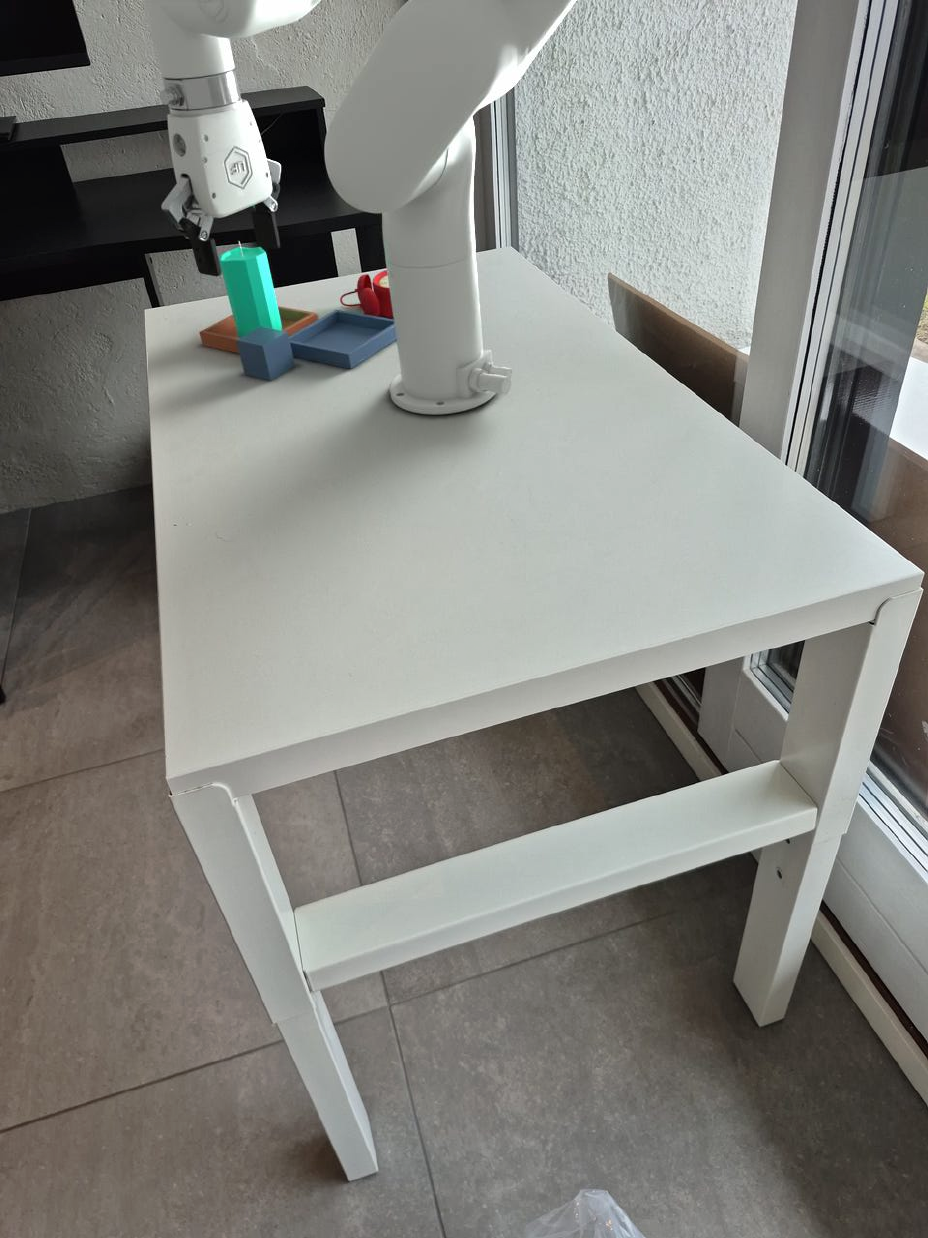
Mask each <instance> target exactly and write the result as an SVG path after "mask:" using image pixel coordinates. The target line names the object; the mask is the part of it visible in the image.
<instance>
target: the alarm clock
mask: <svg viewBox="0 0 928 1238" xmlns="http://www.w3.org/2000/svg"><path fill="white" fill-rule="evenodd" d="M355 293H357V298H358V301H359V303H353V304H348V303H344V302H343V298H344V297H346V296H349V295H352V294H355ZM339 301H340V303H341V305H342V306H345V307H352V308H353V307H359V309H361V311H362V314H365V315H371V316H377V317H383V318H388V319H394V318H393V311H392V303H391V296H390V289H389V282H388V275H387V269H385V270H383V271H381V272H379V273H377V274H375V276H374V277H373V278H372V279H371V276H370V275H369V274H368V273H364V274H362V275H360V276H359V278H358V280H357V284H356V288H354V290H353V291H349V292H347V293H343V294H342V295H341V296H340V298H339Z"/></svg>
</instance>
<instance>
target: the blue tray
mask: <svg viewBox="0 0 928 1238" xmlns="http://www.w3.org/2000/svg"><path fill="white" fill-rule="evenodd" d="M289 341H290V346H291V350H292V355H293V358H296V359H297V358H298V359H302V360H307V361H312V362H317V363H321V364H326V365H331V366H336V367H340V368H344V369H350V370H351V369H353V368H356V367H357V366H359V364H361V363H363V362H365V361H366V360H367V359H369V358H370V357H372V356H374V355H376V353H378V352H379V351H382V350H383V349H384V348H386V347H388V346H389V345H391V344H393V343H394V342H396V341H397V339H396V332H395V325H394V318H389V317H383V316H380V317H377V316H371V315H365V314H364V313H359V312H352V311H348V310H343V309H342V310H341V309H335V310H333V311H331V312H328V313H327V314H326V315H324V316H322V317H320V318H319V319H318V320H317V321H315V322H313V323H312V324H310V325H308V326H306V327H305V328H303V329H301V330H299V331H298V332H296V333H294V334H292V335H290V336H289Z"/></svg>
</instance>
